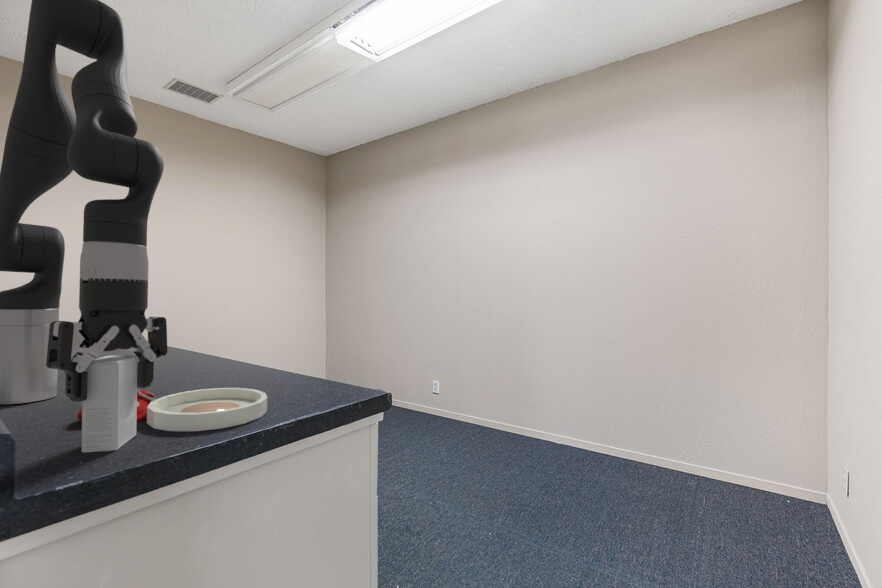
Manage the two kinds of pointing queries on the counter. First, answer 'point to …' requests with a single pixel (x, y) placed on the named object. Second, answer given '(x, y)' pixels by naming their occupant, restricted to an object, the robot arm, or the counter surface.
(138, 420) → the tracker holder
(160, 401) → the round dish
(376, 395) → the counter surface
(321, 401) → the counter surface
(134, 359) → the skincare box
